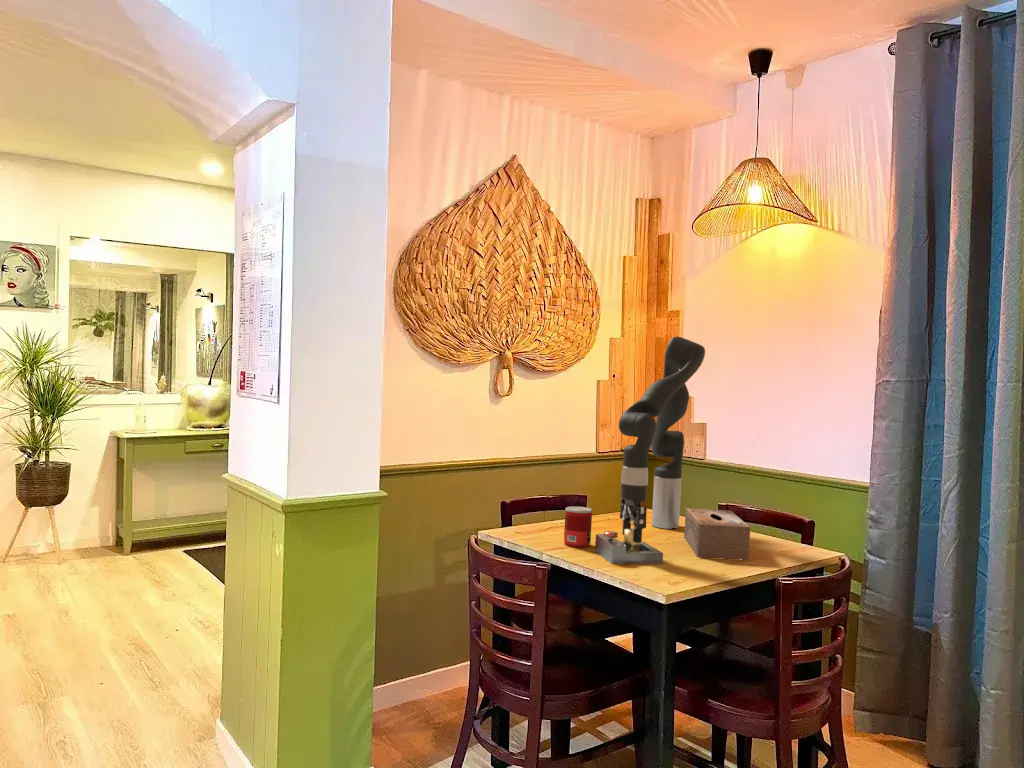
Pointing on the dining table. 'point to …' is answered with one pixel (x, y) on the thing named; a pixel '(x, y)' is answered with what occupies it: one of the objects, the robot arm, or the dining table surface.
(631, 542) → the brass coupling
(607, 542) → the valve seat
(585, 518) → the canned food
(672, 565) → the dining table surface
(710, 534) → the tissue box cover
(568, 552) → the dining table surface
